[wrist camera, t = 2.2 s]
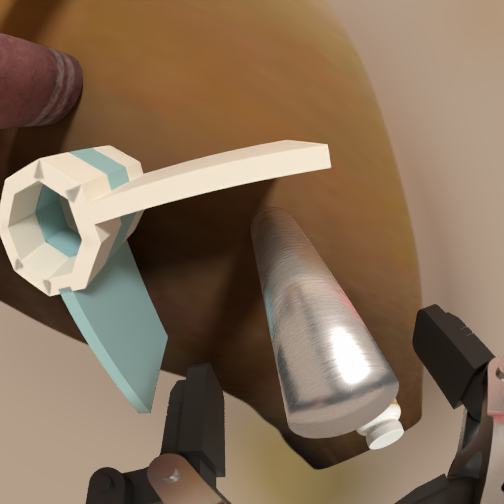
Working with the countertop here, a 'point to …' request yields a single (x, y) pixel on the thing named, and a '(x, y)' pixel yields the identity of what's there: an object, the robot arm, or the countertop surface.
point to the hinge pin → (316, 335)
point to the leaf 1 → (111, 297)
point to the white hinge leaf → (122, 201)
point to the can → (35, 83)
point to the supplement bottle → (383, 428)
